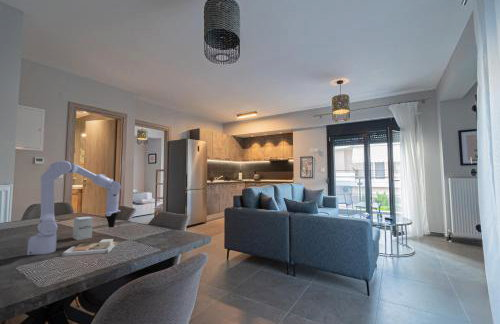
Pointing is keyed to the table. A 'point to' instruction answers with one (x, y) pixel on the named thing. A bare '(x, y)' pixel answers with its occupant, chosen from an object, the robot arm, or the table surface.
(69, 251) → the grey tray
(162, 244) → the table surface
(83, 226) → the supplement box
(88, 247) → the terracotta tile
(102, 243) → the cream tile
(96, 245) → the oak board
